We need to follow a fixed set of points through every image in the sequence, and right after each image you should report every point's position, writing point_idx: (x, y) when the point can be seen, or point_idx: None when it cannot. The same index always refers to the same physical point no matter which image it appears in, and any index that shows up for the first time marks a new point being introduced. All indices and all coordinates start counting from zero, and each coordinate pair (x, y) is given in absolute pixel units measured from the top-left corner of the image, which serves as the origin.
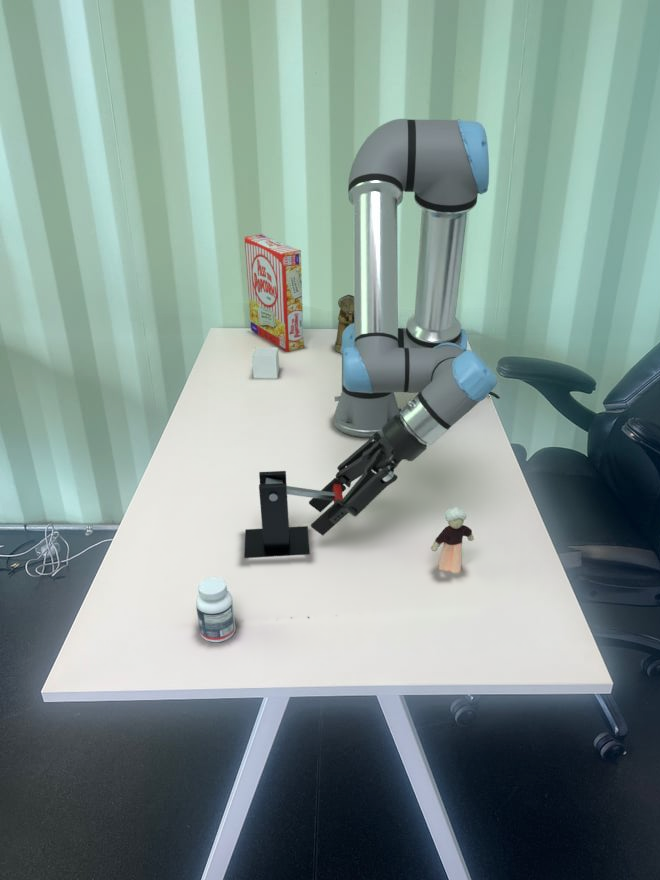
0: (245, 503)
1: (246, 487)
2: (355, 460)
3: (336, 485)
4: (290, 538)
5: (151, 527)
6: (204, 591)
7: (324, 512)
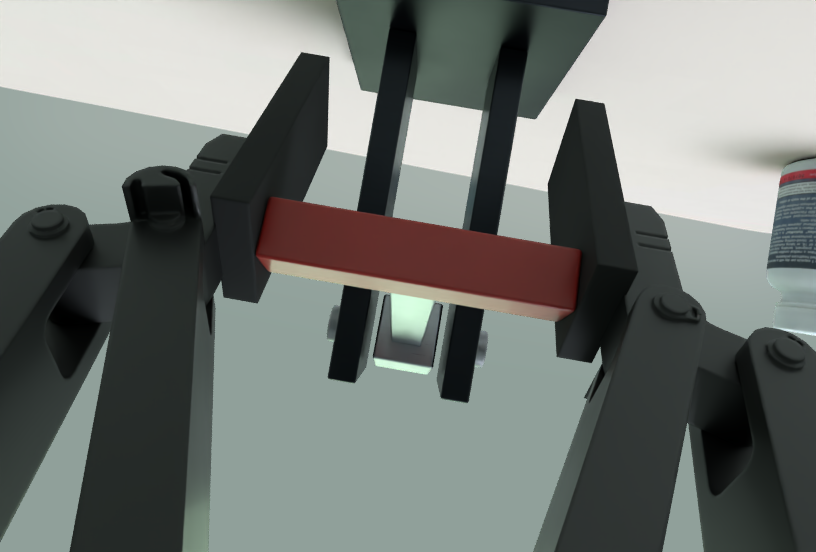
0: (151, 32)
1: (33, 12)
2: (24, 436)
3: (287, 271)
4: (442, 34)
5: (331, 139)
6: None
7: None
